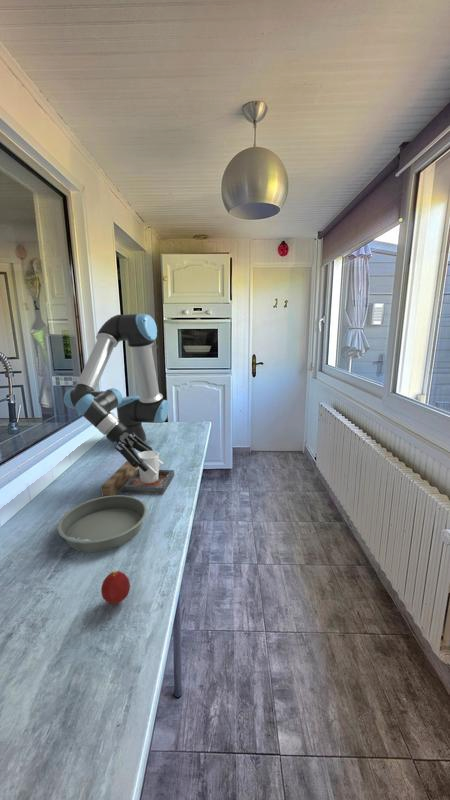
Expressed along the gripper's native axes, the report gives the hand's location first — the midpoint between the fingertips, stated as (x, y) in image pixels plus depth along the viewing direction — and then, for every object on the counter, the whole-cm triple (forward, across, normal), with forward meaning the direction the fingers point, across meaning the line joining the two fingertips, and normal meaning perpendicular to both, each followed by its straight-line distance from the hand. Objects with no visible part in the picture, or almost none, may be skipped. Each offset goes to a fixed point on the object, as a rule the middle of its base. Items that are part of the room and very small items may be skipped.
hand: (157, 470), depth 125 cm
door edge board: (-6, 0, -14) cm, 15 cm away
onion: (+9, +55, +2) cm, 56 cm away
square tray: (+1, 0, -6) cm, 6 cm away
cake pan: (-1, +29, -9) cm, 31 cm away
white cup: (0, 0, -5) cm, 5 cm away
